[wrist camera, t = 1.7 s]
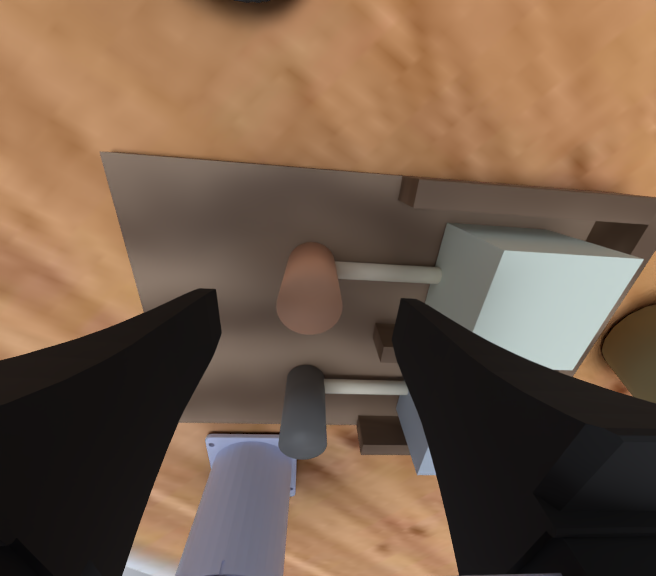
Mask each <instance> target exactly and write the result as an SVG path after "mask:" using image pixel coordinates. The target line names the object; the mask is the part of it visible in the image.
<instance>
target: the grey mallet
mask: <svg viewBox="0 0 656 576" xmlns="http://www.w3.org/2000/svg"><path fill="white" fill-rule="evenodd" d="M325 393H329V394H375V395H400V396H399V400H398V403H397V407H396V410H397V413H398V417H399V420H400V423H401V426H402V429H403V432H404V435H405V439H406V442H407V445H408V448H409V451H410V454H411V457H412V461H413V464H414V467H415V470H416V473H417V475H436V472H435V469H434V465H433V461H432V458H431V454H430V450H429V447H428V443H427V440H426V437H425V433H424V430H423V426H422V423H421V420H420V418H419V415H418V412H417V410H416V407H415V405H414V402H413V400H412V397H411V395H410V393H409V390H408V388H407V385H406V383H405V380H404V381H389V380H350V379H324V374H323V373H322V371H321V370H319V369H318V368H316V367H314V366H310V365H301V366H298V367H295V368H294V369H292V370H291V371H290V372H289V374H288V376H287V383H286V390H285V398H284V405H283V412H282V420H281V427H280V435H279V442H278V447H279V449H280V451H281V452H282V453H283V454H284V455H286V456H288V457H290V458H294V459H311V458H314V457H317V456H319V455H320V454H322V453H323V452H324V450H325V449H326V446H327V435H326V407H325Z"/></svg>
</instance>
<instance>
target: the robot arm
mask: <svg viewBox="0 0 656 576" xmlns="http://www.w3.org/2000/svg"><path fill="white" fill-rule="evenodd" d="M221 334H222V330H221V323H220V315H219V307H218V300H217V292H216V289H205V288H199V289H196V290H193V291H191V292H188V293H186V294H184V295H181V296H179V297H177V298H175V299H173V300H171V301H169V302H166V303H164V304H162V305H160V306H158V307H156V308H154V309H151V310H149V311H147V312H145V313H142V314H140V315H138V316H135V317H133V318H131V319H128V320H126V321H124V322H121V323H119V324H116V325H114V326H111V327H109V328H106V329H103V330H101V331H98V332H95V333H92V334H89V335H86V336H83V337H80V338H77V339H74V340H71V341H68V342H65V343H61V344H58V345H55V346H51V347H48V348H44V349H41V350H37V351H34V352H31V353H27V354H24V355H20V356H16V357H12V358H8V359H4V360H0V576H122V574H123V571H124V568H125V565H126V562H127V559H128V556H129V553H130V550H131V547H132V544H133V541H134V538H135V535H136V532H137V529H138V526H139V524H140V521H141V518H142V515H143V512H144V510H145V507H146V504H147V501H148V499H149V496H150V493H151V490H152V488H153V485H154V482H155V480H156V477H157V474H158V472H159V469H160V467H161V464H162V462H163V459H164V456H165V454H166V451H167V449H168V446H169V444H170V442H171V439H172V437H173V434H174V432H175V430H176V427H177V425H178V422H179V420H180V418H181V416H182V414H183V412H184V410H185V408H186V406H187V404H188V402H189V400H190V399H191V397H192V395H193V393H194V391H195V389H196V388H197V386H198V384H199V382H200V380H201V378H202V377H203V375H204V373H205V371H206V369H207V367H208V365H209V364H210V362H211V360H212V358H213V356H214V353H215V351H216V348H217V346H218V343H219V340H220V337H221ZM392 344H393V348H394V352H395V356H396V360H397V363H398V365H399V368H400V371H401V373H402V376H403V378H404V380H405V383H406V385H407V388H408V390H409V393H410V395H411V397H412V400H413V402H414V405H415V407H416V410H417V412H418V415H419V418H420V420H421V423H422V426H423V430H424V433H425V437H426V440H427V443H428V447H429V450H430V454H431V458H432V461H433V465H434V469H435V472H436V476H437V480H438V484H439V488H440V492H441V496H442V500H443V504H444V508H445V513H446V517H447V521H448V525H449V530H450V535H451V539H452V544H453V548H454V553H455V558H456V562H457V567H458V572H459V576H656V403H653V402H649V401H646V400H642V399H639V398H636V397H632V396H629V395H625V394H622V393H618V392H615V391H612V390H609V389H606V388H603V387H600V386H597V385H594V384H591V383H588V382H585V381H582V380H579V379H577V378H574V377H571V376H568V375H566V374H563V373H560V372H557V371H555V370H552V369H550V368H547V367H545V366H543V365H540V364H538V363H535V362H533V361H530V360H528V359H526V358H523V357H521V356H519V355H517V354H514V353H512V352H510V351H508V350H506V349H504V348H502V347H500V346H498V345H496V344H494V343H492V342H490V341H488V340H486V339H484V338H482V337H481V336H479V335H477V334H475V333H473V332H472V331H470V330H468V329H466V328H465V327H463V326H461V325H460V324H458V323H456V322H455V321H453V320H451V319H450V318H448V317H446V316H445V315H443V314H442V313H440V312H438V311H437V310H435V309H434V308H432V307H430V306H429V305H427V304H425V303H424V302H422V301H420V300H418V299H411V298H401V300H400V304H399V309H398V313H397V318H396V322H395V326H394V331H393V335H392ZM279 435H280V434H209V435H207V437H206V439H205V442H206V447H207V452H208V457H209V461H210V466H211V472H210V474H209V477H208V480H207V483H206V486H205V489H204V492H203V495H202V498H201V501H200V504H199V507H198V510H197V513H196V516H195V519H194V522H193V524H192V527H191V530H190V533H189V536H188V539H187V542H186V545H185V548H184V551H183V554H182V557H181V560H180V563H179V566H178V569H177V571H176V574H175V576H283V571H284V559H285V546H286V534H287V521H288V509H289V497H291V496H294V495H295V490H296V462H297V459H294V458H290V457H288V456H286V455H284V454H283V453H282V452H281V451H280V449H279V447H278V442H279Z"/></svg>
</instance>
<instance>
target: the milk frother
mask: <svg viewBox="0 0 656 576" xmlns="http://www.w3.org/2000/svg"><path fill="white" fill-rule="evenodd" d="M235 1H240V2H246V3H249V2H256V3H261V2H267V1H270V0H235Z"/></svg>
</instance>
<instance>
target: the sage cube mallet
mask: <svg viewBox="0 0 656 576" xmlns="http://www.w3.org/2000/svg"><path fill="white" fill-rule="evenodd" d="M643 260H644V259H642V258H639V257H635V256H632V255H629V254H626V253H622V252H619V251H616V250H612V249H609V248H606V247H603V246H599V245H596V244H593V243H589V242H586V241H583V240H580V239H576V238H573V237H570V236H566V235H563V234H560V233H556V232H553V231H550V230H546V229H531V228H517V227H502V226H488V225H474V224H459V223H447V225H446V228H445V232H444V236H443V239H442V243H441V247H440V250H439V254H438V258H437V261H436V265H435V267H426V266H409V265H391V264H374V263H356V262H339V261H335V260H334V256H333V254H332V253H331V251H330V250H329V249H328V248H327V247H325V246H324V245H322V244H320V243H316V242H306V243H303V244H300V245H299V246H297V247H296V248H295V249H294V250H293V251H292V252H291V254H290V256H289V259H288V262H287V266H286V270H285V273H284V277H283V280H282V284H281V287H280V291H279V294H278V298H277V302H276V310H277V314H278V316H279V318H280V320H281V321H282V323H283V324H284V325H285V326H286V327H287V328H289V329H290V330H292V331H294V332H297V333H300V334H305V335H314V334H320V333H323V332H325V331H327V330H329V329H330V328H332V327H333V326H334V325H335V324H336V323H337V322H338V320H339V318H340V316H341V314H342V307H343V305H342V298H341V293H340V287H339V281H338V279H351V280H370V281H389V282H408V283H427V284H430V287H429V290H428V294H427V298H426V301H425V304H427V305H429V306H430V307H432V308H434V309H435V310H437V311H438V312H440V313H442V314H443V315H445V316H446V317H448V318H450V319H451V320H453V321H455V322H456V323H458V324H460V325H461V326H463V327H465V328H466V329H468V330H470V331H472V332H473V333H475V334H477V335H479V336H481V337H482V338H484V339H486V340H488V341H490V342H492V343H494V344H496V345H498V346H500V347H502V348H504V349H506V350H508V351H510V352H512V353H514V354H517V355H519V356H521V357H523V358H526V359H528V360H530V361H533V362H535V363H538V364H540V365H543V366H545V367H547V368H550V369H552V370H573V369H574V367H575V366H576V364H577V363H578V361H579V359H580V358H581V356H582V355H583V353H584V352H585V350H586V349H587V347H588V345H589V344H590V342H591V341H592V339H593V338H594V336H595V335H596V333H597V332H598V330H599V328H600V327H601V325H602V324H603V322H604V321H605V319H606V318H607V316H608V314H609V313H610V311H611V310H612V308H613V307H614V305H615V304H616V302H617V300H618V299H619V297H620V296H621V294H622V293H623V291H624V290H625V288H626V287H627V285H628V283H629V282H630V280H631V279H632V277H633V276H634V274H635V273H636V271H637V269H638V268H639V266H640V265H641V263H642V262H643Z"/></svg>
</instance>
